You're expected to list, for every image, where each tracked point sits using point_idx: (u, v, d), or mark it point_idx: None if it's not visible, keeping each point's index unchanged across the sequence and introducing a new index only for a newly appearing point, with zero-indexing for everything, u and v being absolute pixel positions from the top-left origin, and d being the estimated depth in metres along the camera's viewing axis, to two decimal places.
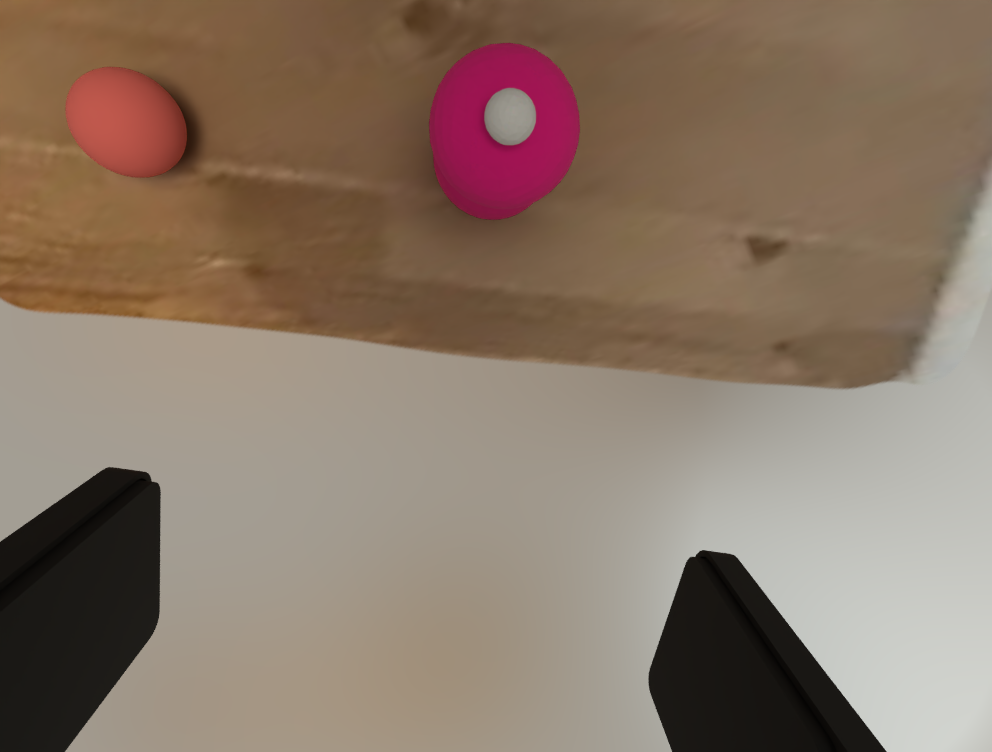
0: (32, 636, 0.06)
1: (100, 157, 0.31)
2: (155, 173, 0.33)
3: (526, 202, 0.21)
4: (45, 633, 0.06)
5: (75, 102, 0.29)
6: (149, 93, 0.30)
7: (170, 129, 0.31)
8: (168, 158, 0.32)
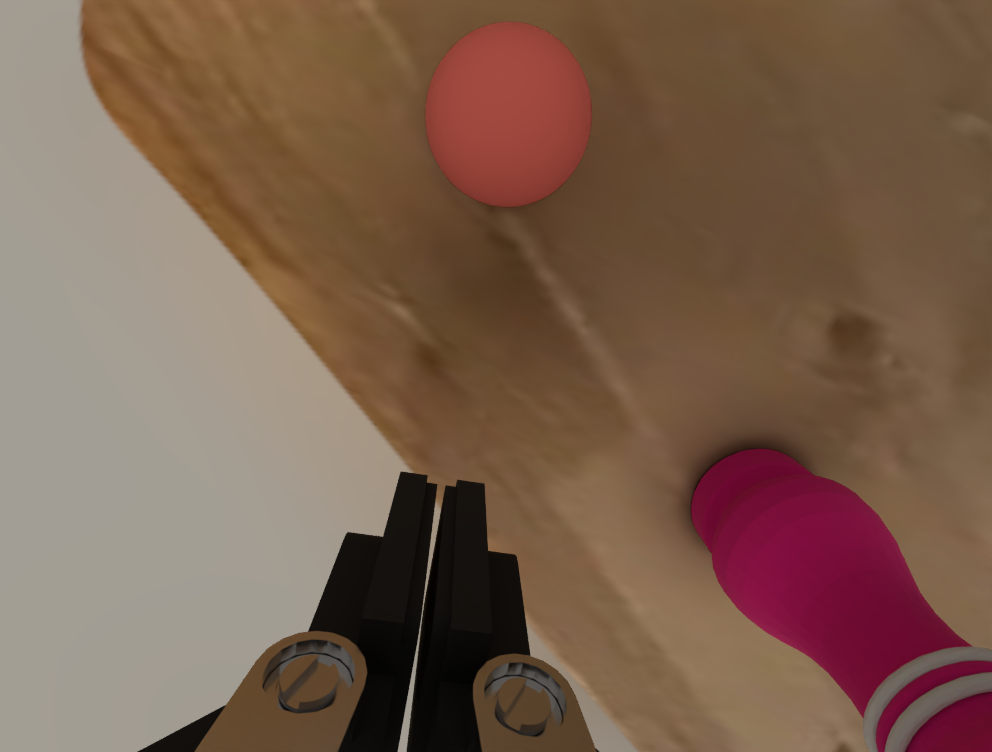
0: None
1: (449, 134, 0.18)
2: (471, 197, 0.20)
3: None
4: None
5: (506, 58, 0.16)
6: (583, 137, 0.18)
7: (552, 188, 0.19)
8: (507, 205, 0.20)
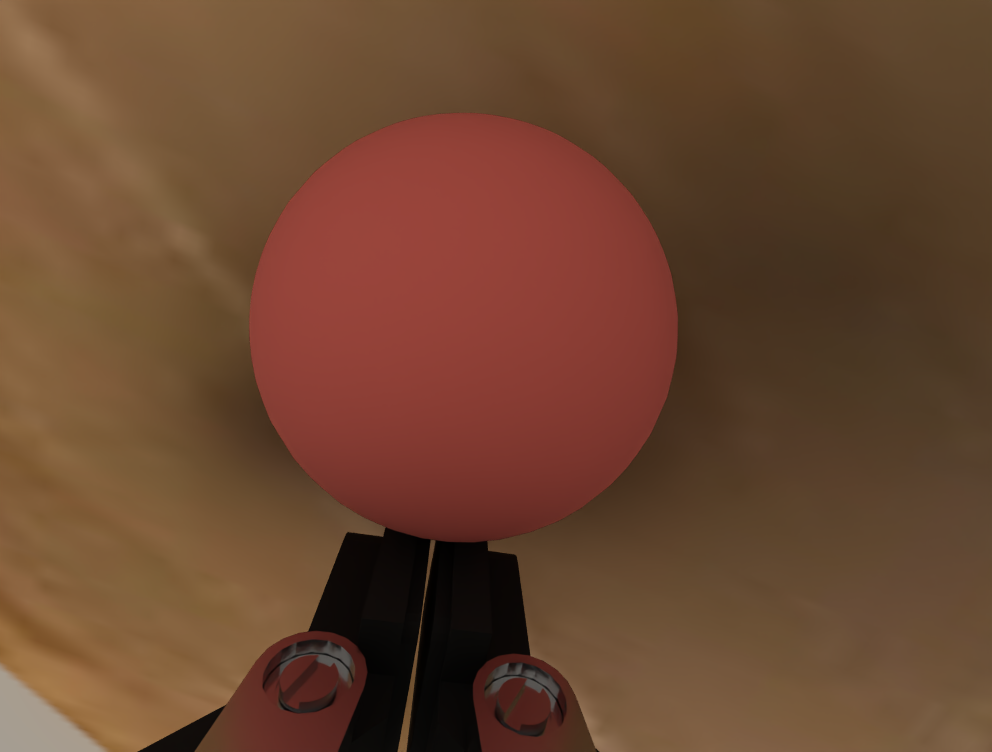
0: None
1: (286, 248, 0.06)
2: (343, 487, 0.06)
3: None
4: None
5: None
6: (673, 312, 0.07)
7: (604, 443, 0.06)
8: (457, 502, 0.06)
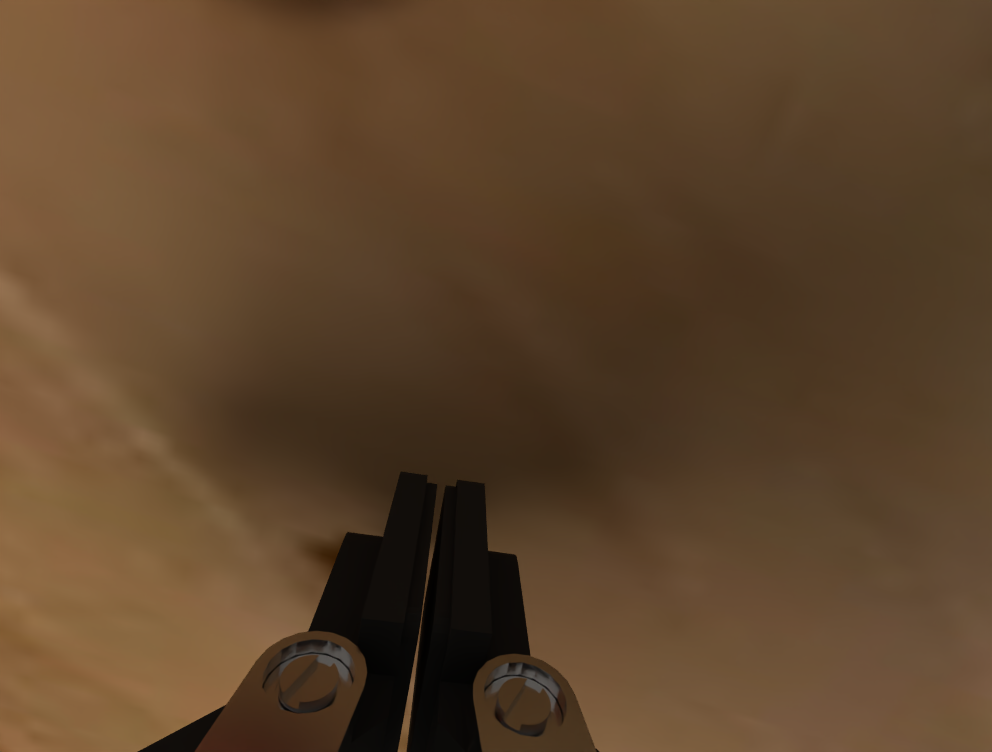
0: None
1: None
2: None
3: None
4: None
5: None
6: None
7: None
8: None
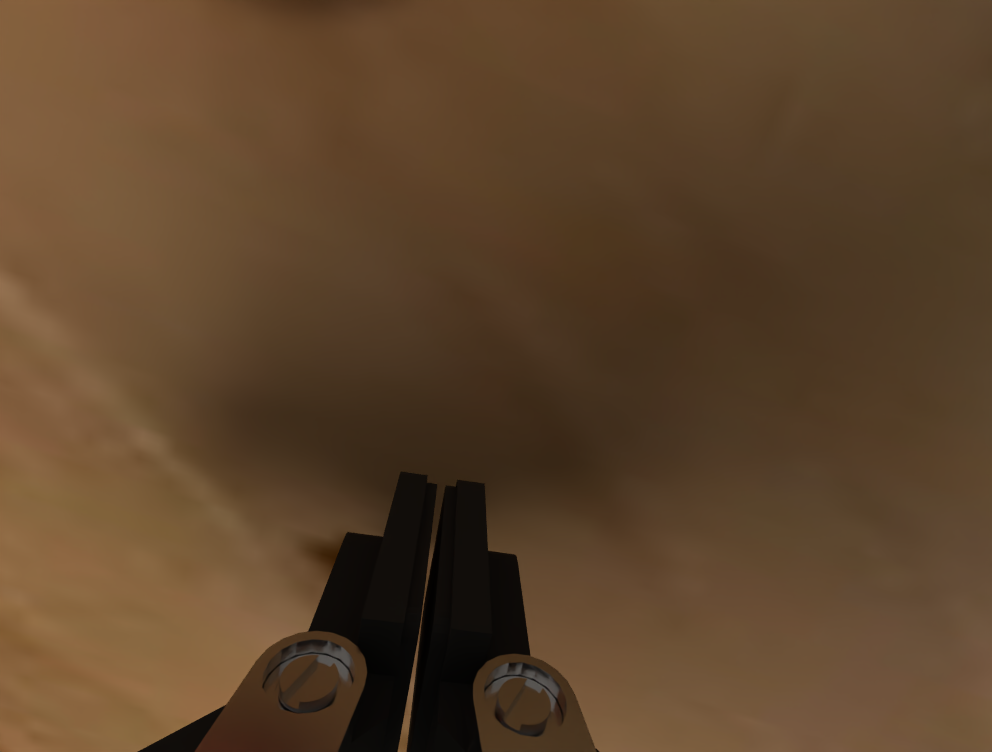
0: None
1: None
2: None
3: None
4: None
5: None
6: None
7: None
8: None
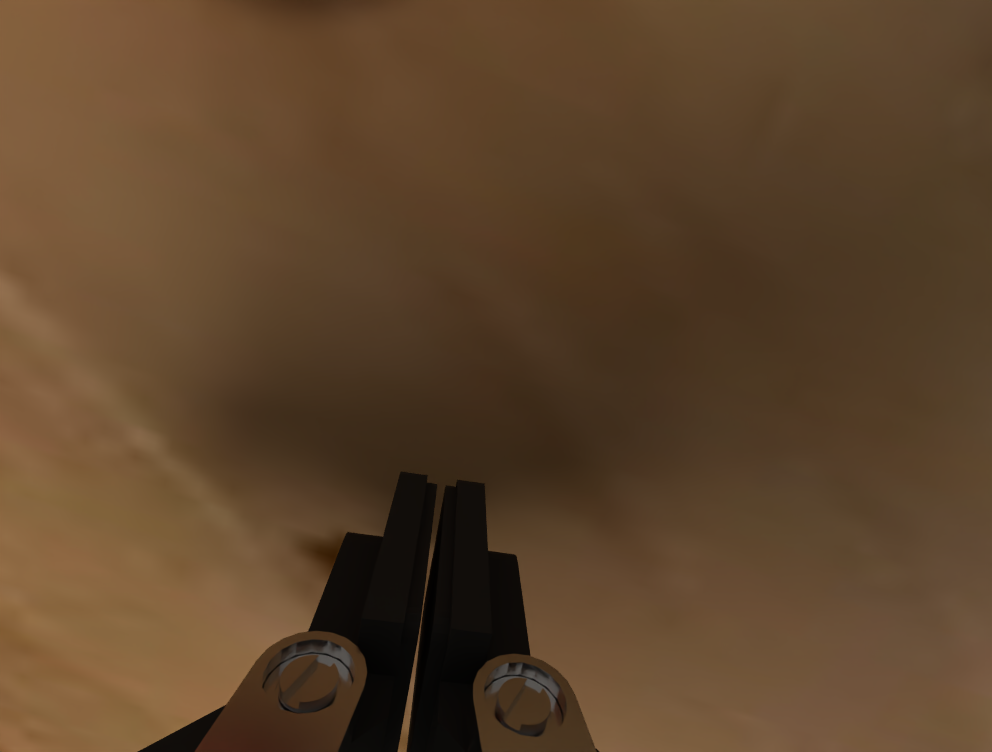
0: None
1: None
2: None
3: None
4: None
5: None
6: None
7: None
8: None
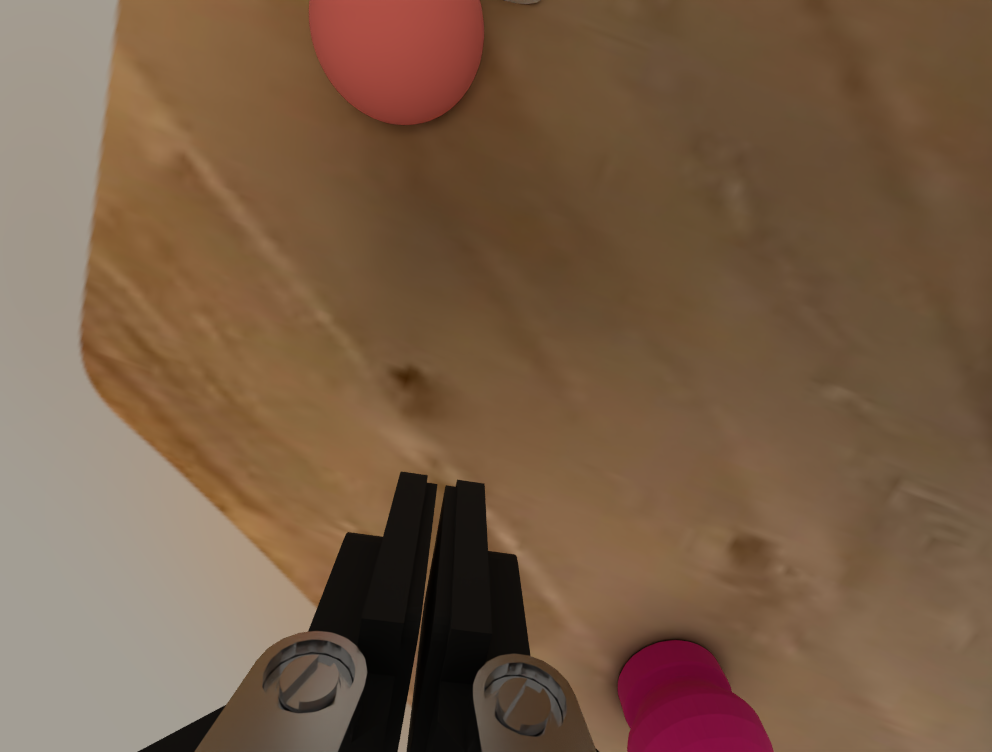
0: None
1: None
2: None
3: None
4: None
5: (372, 104, 0.18)
6: (469, 53, 0.18)
7: None
8: None
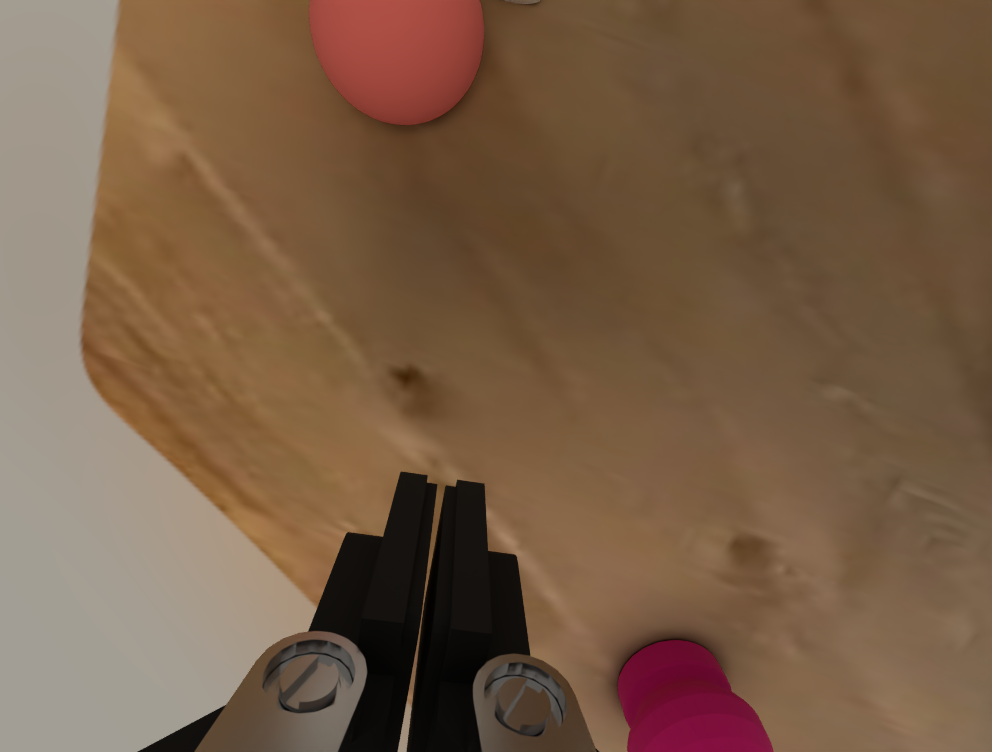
0: None
1: None
2: None
3: None
4: None
5: (373, 104, 0.18)
6: (469, 53, 0.18)
7: None
8: None
